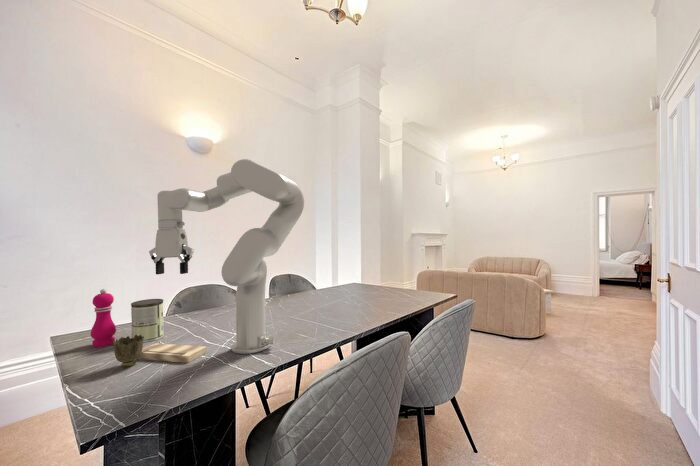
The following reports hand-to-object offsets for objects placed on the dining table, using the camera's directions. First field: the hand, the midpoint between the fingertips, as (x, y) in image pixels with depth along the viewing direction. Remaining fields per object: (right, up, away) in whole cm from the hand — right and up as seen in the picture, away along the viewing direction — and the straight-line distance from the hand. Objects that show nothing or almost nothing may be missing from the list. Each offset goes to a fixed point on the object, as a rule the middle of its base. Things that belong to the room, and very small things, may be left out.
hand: (172, 273), depth 107 cm
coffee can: (-14, -26, +7) cm, 30 cm away
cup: (-2, -25, -17) cm, 31 cm away
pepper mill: (-26, -26, +2) cm, 37 cm away
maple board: (+6, -25, -10) cm, 28 cm away
